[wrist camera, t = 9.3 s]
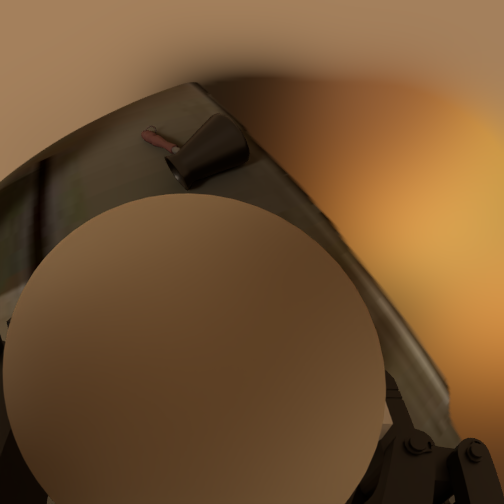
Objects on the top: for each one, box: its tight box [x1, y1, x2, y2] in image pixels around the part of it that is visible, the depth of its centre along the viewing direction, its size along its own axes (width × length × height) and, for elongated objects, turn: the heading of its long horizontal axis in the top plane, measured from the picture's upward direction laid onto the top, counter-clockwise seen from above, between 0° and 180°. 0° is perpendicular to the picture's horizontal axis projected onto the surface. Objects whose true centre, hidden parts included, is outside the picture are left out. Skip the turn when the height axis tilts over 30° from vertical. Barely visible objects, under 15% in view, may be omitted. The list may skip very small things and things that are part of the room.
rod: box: [3, 193, 386, 504], centre depth 9 cm, size 6×6×14 cm
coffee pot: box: [141, 113, 250, 190], centre depth 34 cm, size 8×18×8 cm
